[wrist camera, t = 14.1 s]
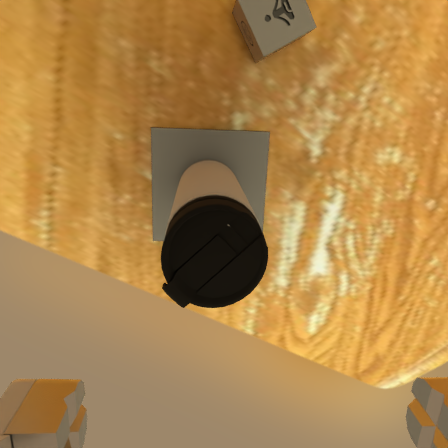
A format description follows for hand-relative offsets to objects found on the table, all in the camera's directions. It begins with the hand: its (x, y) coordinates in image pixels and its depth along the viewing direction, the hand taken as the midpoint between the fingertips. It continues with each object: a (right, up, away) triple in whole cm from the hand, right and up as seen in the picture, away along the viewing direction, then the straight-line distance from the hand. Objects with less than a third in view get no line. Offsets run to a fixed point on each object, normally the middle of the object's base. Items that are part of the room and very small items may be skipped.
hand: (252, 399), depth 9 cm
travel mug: (-2, +8, +31) cm, 32 cm away
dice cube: (+3, +23, +27) cm, 36 cm away
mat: (-2, +8, +31) cm, 32 cm away
